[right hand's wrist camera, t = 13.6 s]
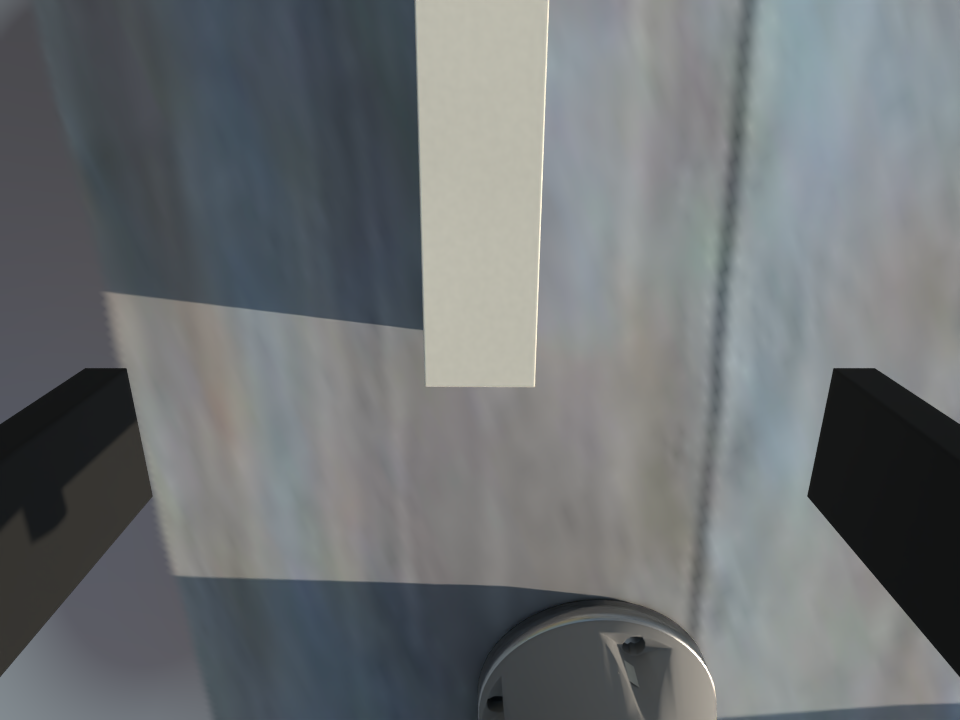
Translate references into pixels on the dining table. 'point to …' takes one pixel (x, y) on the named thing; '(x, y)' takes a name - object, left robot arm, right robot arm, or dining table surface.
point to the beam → (480, 186)
